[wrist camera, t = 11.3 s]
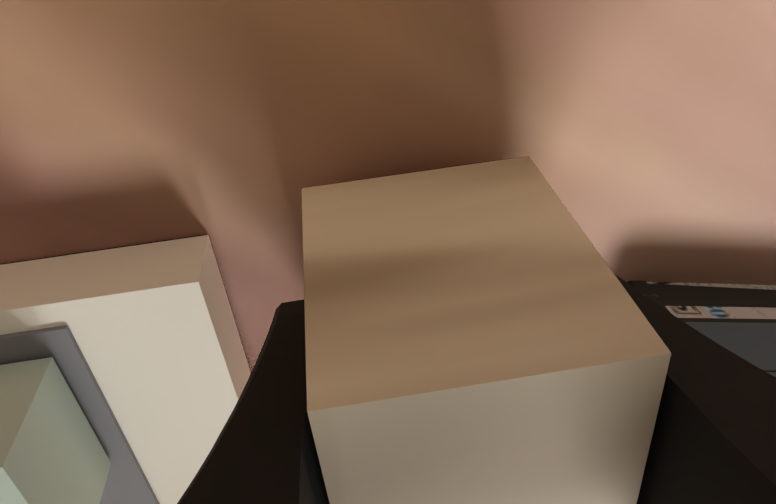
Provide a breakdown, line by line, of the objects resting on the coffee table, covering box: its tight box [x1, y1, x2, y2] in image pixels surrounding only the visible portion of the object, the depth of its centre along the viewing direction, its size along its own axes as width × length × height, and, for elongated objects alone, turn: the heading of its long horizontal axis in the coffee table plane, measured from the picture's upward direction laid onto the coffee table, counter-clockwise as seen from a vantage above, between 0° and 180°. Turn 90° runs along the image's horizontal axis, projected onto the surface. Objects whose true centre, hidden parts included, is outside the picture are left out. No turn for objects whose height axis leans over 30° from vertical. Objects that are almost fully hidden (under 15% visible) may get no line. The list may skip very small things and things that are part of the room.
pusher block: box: [302, 156, 671, 504], centre depth 10 cm, size 4×4×5 cm
